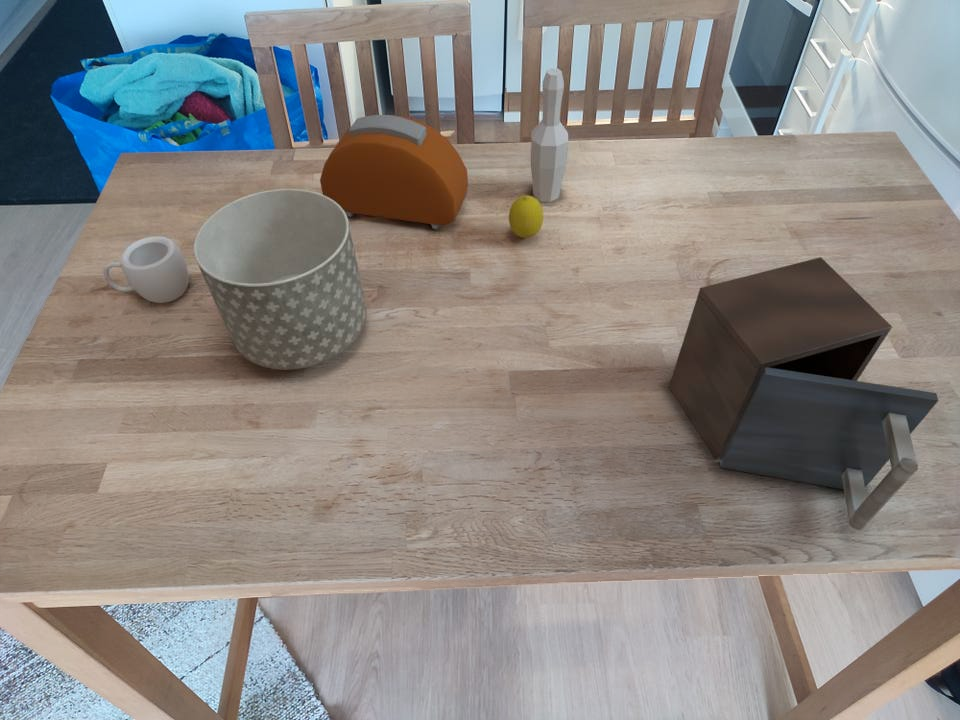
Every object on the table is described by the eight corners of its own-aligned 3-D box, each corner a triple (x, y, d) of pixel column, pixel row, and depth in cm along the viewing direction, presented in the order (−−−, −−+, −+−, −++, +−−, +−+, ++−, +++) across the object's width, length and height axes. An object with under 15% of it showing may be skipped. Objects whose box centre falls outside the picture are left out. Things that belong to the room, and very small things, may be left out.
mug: (199, 270, 105) (181, 230, 99) (191, 307, 99) (171, 267, 93) (122, 277, 104) (99, 238, 98) (109, 315, 99) (84, 276, 93)
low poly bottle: (523, 187, 118) (527, 65, 101) (556, 181, 119) (566, 59, 102) (534, 207, 114) (541, 84, 97) (569, 201, 115) (581, 78, 98)
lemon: (514, 224, 111) (515, 183, 105) (545, 230, 110) (548, 189, 104) (504, 243, 108) (504, 203, 102) (536, 250, 106) (539, 210, 100)
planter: (221, 384, 89) (172, 285, 76) (254, 288, 102) (216, 188, 88) (361, 383, 89) (336, 284, 75) (376, 287, 101) (358, 187, 88)
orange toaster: (470, 203, 115) (466, 113, 102) (456, 235, 109) (451, 144, 97) (345, 186, 119) (327, 98, 107) (325, 215, 114) (304, 126, 101)
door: (870, 546, 72) (955, 459, 59) (720, 518, 75) (769, 428, 62) (860, 485, 77) (936, 392, 64) (720, 460, 80) (765, 366, 67)
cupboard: (827, 425, 83) (892, 326, 70) (716, 459, 80) (761, 364, 67) (772, 357, 91) (821, 256, 77) (668, 386, 88) (700, 287, 74)
